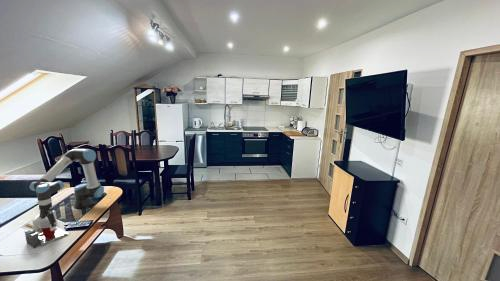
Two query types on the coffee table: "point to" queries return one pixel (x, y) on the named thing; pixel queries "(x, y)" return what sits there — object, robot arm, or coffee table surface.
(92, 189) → the robot arm
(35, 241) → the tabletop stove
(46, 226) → the plastic cup
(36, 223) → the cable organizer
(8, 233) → the coffee table surface
